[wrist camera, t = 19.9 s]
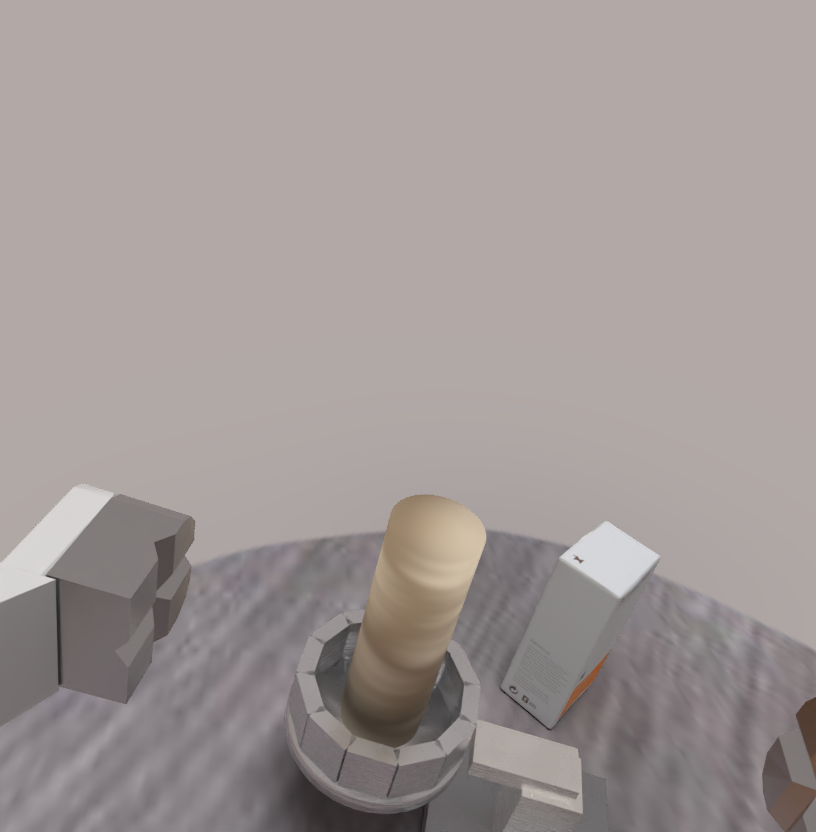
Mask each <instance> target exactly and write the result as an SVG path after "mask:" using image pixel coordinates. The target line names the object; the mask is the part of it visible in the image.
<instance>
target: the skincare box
mask: <svg viewBox="0 0 816 832" xmlns="http://www.w3.org/2000/svg"><path fill="white" fill-rule="evenodd" d="M659 560H660V556H659V555H658V554H656V553H655V552H653V551H651V550H650V549H649V548H647V547H645V546H644V545H642V544H641V543H639V542H638V541H636V540H635V539H633V538H632V537H630V536H629V535H627V534H626V533H624V532H623V531H621V530H619V529H618V528H617V527H615V526H613V525H612V524H611V523H609V522H608V521H605V522H603V523H602V524H600V525H599V526H598V527H597V528H595V529H594V530H593V531H591V532H590V533H588V534H587V535H585V536H583V537H582V538H581V539H580V540H579V541H578V542H577V543H576V544H575V545H574V546H572V547H571V548H570V549H569V550H567V551H566V552H565V553H564V554H563V555H561V556H560V557H559V558H558V560H557V563H556V565H555V567H554V569H553V571H552V573H551V575H550V577H549V580H548V582H547V584H546V587H545V589H544V591H543V593H542V596H541V598H540V600H539V602H538V604H537V607H536V609H535V611H534V613H533V616H532V618H531V620H530V622H529V624H528V627H527V629H526V631H525V633H524V635H523V638H522V640H521V642H520V644H519V646H518V648H517V651H516V653H515V655H514V657H513V659H512V662H511V664H510V666H509V669H508V671H507V673H506V675H505V677H504V680H503V682H502V684H501V689H502V690H503V691H504V692H506V693H507V694H508V695H509V696H510V697H511V698H513V699H514V700H515V701H516V702H518V703H519V704H520V705H521V706H522V707H524V708H525V709H526V710H527V711H528V712H530V713H531V714H532V715H533V716H534V717H536V718H537V719H538V720H539V721H540V722H541V723H543V724H544V725H545V726H546V727H547V728H549V729H552V728H553V727H554V725H555V724H556V723H557V722H558V720H559V719H560V718H561V717H562V716H563V715H564V713H565V712H566V711H567V710H568V709H569V708H570V706H571V705H572V704H573V703H574V702H575V701H576V700H577V699H578V698H579V697H580V696H581V695H582V694H583V693H584V692H585V690H586V689H587V688H588V687H589V686H590V685H591V684H592V683H593V682H594V680H595V678H596V676H597V674H598V672H599V671H600V669H601V667H602V665H603V663H604V662H605V660H606V658H607V656H608V654H609V652H610V651H611V649H612V647H613V645H614V643H615V641H616V640H617V638H618V636H619V634H620V632H621V630H622V628H623V627H624V625H625V623H626V621H627V619H628V618H629V616H630V614H631V612H632V610H633V608H634V606H635V605H636V603H637V601H638V599H639V597H640V595H641V593H642V592H643V590H644V588H645V586H646V584H647V582H648V580H649V579H650V577H651V575H652V573H653V571H654V569H655V567H656V566H657V564H658V562H659Z"/></svg>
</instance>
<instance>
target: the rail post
mask: <svg viewBox="0 0 816 832" xmlns="http://www.w3.org/2000/svg"><path fill="white" fill-rule="evenodd" d="M485 542H486V532H485V529H484V527H483V524H482V523H481V521H480V520H479V518H478V517H477V516H476V515H475V514H474V513H473V512H472V511H470V510H469V509H468V508H466V507H465V506H463V505H461V504H459V503H458V502H455V501H453V500H450V499H447V498H445V497H440V496H435V495H415V496H410V497H407V498H405V499H403V500H401V501H400V502H398V503H397V504H396V505H395V506H394V508H393V510H392V512H391V515H390V518H389V522H388V526H387V530H386V533H385V537H384V541H383V545H382V549H381V552H380V556H379V560H378V564H377V567H376V571H375V575H374V579H373V582H372V586H371V590H370V594H369V597H368V601H367V605H366V609H365V612H364V616H363V620H362V624H361V627H360V631H359V635H358V639H357V643H356V646H355V650H354V654H353V658H352V661H351V665H350V669H349V673H348V676H347V680H346V684H345V688H344V691H343V695H342V699H341V703H340V715H341V719H342V721H343V724H344V726H345V727H346V728H347V729H348V730H349V731H350V732H351V733H352V734H353V735H354V736H356V737H359V738H362V739H366V740H369V741H373V742H376V743H379V744H383V745H386V746H389V747H393V748H397V747H400V746H402V745H404V744H406V743H408V742H409V741H410V740H411V739H412V738H413V737H414V736H415V734H416V733H417V731H418V729H419V726H420V723H421V720H422V718H423V715H424V712H425V709H426V706H427V704H428V701H429V698H430V695H431V693H432V690H433V687H434V684H435V681H436V679H437V676H438V673H439V670H440V668H441V665H442V662H443V659H444V656H445V654H446V651H447V648H448V645H449V643H450V640H451V637H452V634H453V631H454V629H455V626H456V623H457V620H458V618H459V615H460V612H461V609H462V606H463V604H464V601H465V598H466V595H467V593H468V590H469V587H470V584H471V581H472V579H473V576H474V573H475V570H476V568H477V565H478V562H479V559H480V556H481V554H482V551H483V548H484V545H485Z"/></svg>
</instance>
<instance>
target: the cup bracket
mask: <svg viewBox="0 0 816 832" xmlns="http://www.w3.org/2000/svg"><path fill="white" fill-rule="evenodd" d="M364 612H365V610H358V611H349V612H343V614H342V613H341V614H339V615H338V616H336V617H335V618H334V619H332V620H331V621H329V622H328V623H326V624H325V625H323V626H322V627H321V628H319V629H318V630H316V631H315V632H313V633H312V634H311V635H310V636H309V639H308V641H307V644H306V647H305V649H304V652H303V655H302V657H301V660H300V663H299V665H298V668H297V671H296V675H295V680H294V682H293V684H292V687H291V690H290V694H289V698H288V702H287V707H286V714H285V733H286V739H287V743H288V746H289V749H290V752H291V754H292V756H293V759H294V761H295V763H296V764H297V766H298V767H299V769H300V770H301V772H302V773H303V774H304V776H305V777H306V778H307V779H308V780H309V781H310V783H311V784H313V785H314V786H315V787H316V788H317V789H318V790H319V791H320V792H322V793H323V794H325V795H326V796H328V797H329V798H331V799H332V800H334V801H336V802H338V803H340V804H342V805H344V806H347V807H350V808H352V809H355V810H359V811H363V812H368V813H377V814H395V813H401V812H407V811H410V810H413V809H416V808H419V807H421V806H423V805H425V809H424V815H423V821H422V828H421V832H609V825H608V810H607V795H606V780H605V779H604V778H600V777H597V776H594V775H590V774H587V773H583V772H581V758H578V749H577V748H574V747H570V746H567V745H563V744H560V743H557V742H553V741H550V740H546V739H543V738H539V737H536V736H533V735H529V734H526V733H522V732H519V731H516V730H512V729H509V728H505V727H502V726H499V725H495V724H492V723H488V722H485V721H481V720H478V719H477V717H478V708H479V698H480V688H481V686H480V682H479V680H478V678H477V676H476V674H475V672H474V670H473V668H472V666H471V664H470V662H469V660H468V658H467V656H466V654H465V652H464V650H463V648H461V646H460V645H459V644H458V643H456V642H455V641H454V640H452V639H451V640H450V643H449V645H448V648H447V651H446V654H445V656H444V659H443V662H442V665H441V668H440V670H439V673H438V676H437V679H436V681H435V684H434V687H433V690H432V693H431V695H430V698H429V701H428V704H427V706H426V709H425V712H424V715H423V718H422V720H421V723H420V726H419V729H418V731H417V733H416V734H415V736H414V737H413V738H412V739H411V740H410V741H409V742H408V743H406V744H404V745H402V746H400V747H397V748H393V747H389V746H386V745H383V744H379V743H376V742H373V741H369V740H366V739H362V738H359V737H356V736H354V735H353V734H352V733H351V732H350V731H349V730H348V729H347V728H346V727H345V726H344V724H343V721H342V719H341V715H340V703H341V699H342V695H343V691H344V688H345V684H346V680H347V676H348V673H349V669H350V665H351V661H352V658H353V654H354V650H355V646H356V643H357V639H358V635H359V631H360V627H361V624H362V620H363V616H364Z"/></svg>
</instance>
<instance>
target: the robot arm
mask: <svg viewBox="0 0 816 832" xmlns="http://www.w3.org/2000/svg"><path fill="white" fill-rule="evenodd" d="M194 529H195V520H193V518H192V517H191V516H188V515H185V514H182V513H178V512H175V511H172V510H169V509H166V508H162V507H159V506H156V505H153V504H149V503H146V502H144V501H140V500H137V499H134V498H130V497H127V496H124V495H121V494H119V495H118V494H115V493H112V492H109V491H105V490H102V489H99V488H96V487H93V486H90V485H87V484H84V483H83V484H80V485H78V486H75V487H73V488H72V489H71V490H70V491H69V492H68V493H67V494H66V495H65V496H64V497H63V498H62V499H61V500H60V501H59V502H58V503H57V504H56V505H55V506H54V507H53V508H52V509H51V510H50V511H49V512H48V513H47V514H46V515H45V517H44V518H43V519H42V520H41V521H40V522H39V523H38V524H37V525H36V526H35V527H34V528H33V529H32V530H31V531H30V532H29V533H28V534H27V535H26V536H25V537H24V538H23V539H22V541H21V542H19V543H18V545H17V546H16V547H15V548H14V549H13V550H12V551H11V552H10V553H9V554H8V555H7V556H6V557H5V558H4V559H3V560H2V561H1V562H0V727H1V726H2V725H4V724H6V723H7V722H9V721H10V720H12V719H14V718H15V717H17V716H18V715H20V714H22V713H23V712H25V711H27V710H28V709H30V708H31V707H33V706H35V705H36V704H38V703H39V702H41V701H43V700H44V699H46V698H47V697H49V696H51V695H52V694H54V693H55V692H57V691H58V689H59V687H63V688H67V689H71V690H75V691H78V692H82V693H86V694H90V695H93V696H97V697H101V698H105V699H108V700H112V701H116V702H120V703H124V704H127V702H128V700H129V699H130V697H131V695H132V694H133V692H134V690H135V689H136V687H137V685H138V684H139V682H140V680H141V679H142V677H143V675H144V674H145V672H146V670H147V669H148V667H149V665H150V664H151V662H152V650H153V642H155V641H157V640H159V639H161V638H163V637H165V636H167V635H168V633H169V631H170V630H171V628H172V626H173V624H174V623H175V621H176V619H177V617H178V615H179V612H180V610H181V607H182V605H183V602H184V600H185V597H186V594H187V589H188V585H189V581H190V574H191V565H190V563H189V561H188V560H187V558H186V557H185V554H186V552H187V551H188V549H189V547H190V546H191V544H192V543H193V541H194ZM796 718H797V722H798V727H799V729H797V730H794V731H791V732H789V733H786V734H784V735H781V736H779V737H778V738H777V739H776V741H775V742H774V744H773V745H772V747H771V748H770V750H769V751H768V753H767V756H766V760H765V765H764V769H763V773H762V778H763V793H764V798H765V802H766V806H767V810H768V812H769V813H770V814H771V816H772V817H773V818H774V819H775V821H776V822H777V823H778V824H779V826H780V827H781V828H782V829H783V831H784V832H816V697H815V698H813V699H811V700H808V701H806V702H805V703H804V705H803V706H802V707H801V708H800V710H799V711H798V712H797V713H796Z"/></svg>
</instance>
